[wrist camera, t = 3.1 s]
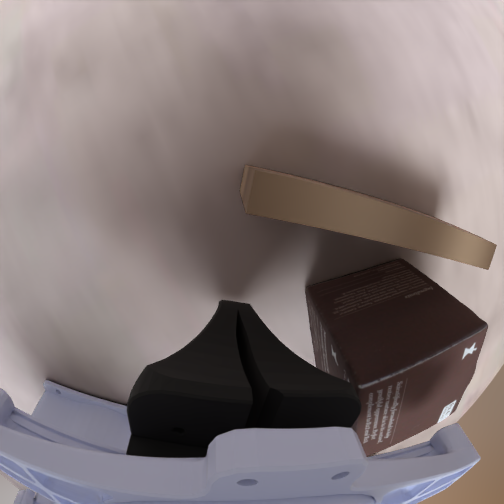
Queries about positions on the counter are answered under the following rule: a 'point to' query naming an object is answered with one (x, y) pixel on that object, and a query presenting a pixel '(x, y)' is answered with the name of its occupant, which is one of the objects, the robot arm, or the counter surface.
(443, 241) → the walnut screen
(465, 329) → the box
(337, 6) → the counter surface
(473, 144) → the counter surface
